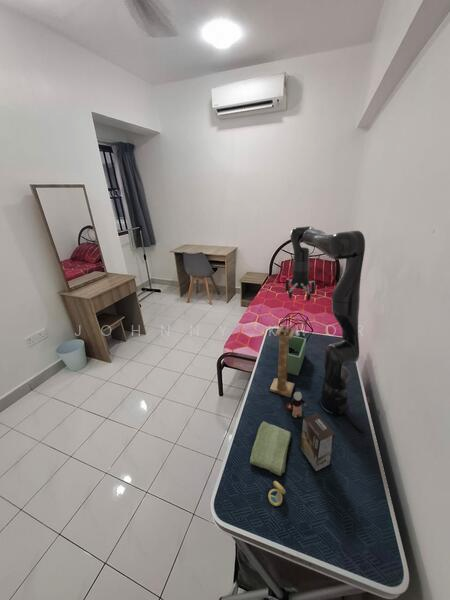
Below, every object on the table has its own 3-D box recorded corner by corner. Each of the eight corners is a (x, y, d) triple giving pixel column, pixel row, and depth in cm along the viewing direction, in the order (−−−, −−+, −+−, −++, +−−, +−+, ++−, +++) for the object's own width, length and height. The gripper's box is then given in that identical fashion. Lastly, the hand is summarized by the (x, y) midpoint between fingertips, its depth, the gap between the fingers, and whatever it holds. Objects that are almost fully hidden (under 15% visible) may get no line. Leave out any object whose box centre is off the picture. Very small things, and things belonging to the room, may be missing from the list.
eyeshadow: (265, 497, 77) (265, 489, 75) (274, 485, 80) (275, 476, 78) (277, 509, 74) (277, 501, 72) (286, 495, 77) (286, 487, 75)
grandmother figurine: (300, 408, 106) (303, 387, 101) (306, 415, 103) (308, 393, 97) (285, 413, 104) (287, 392, 99) (290, 421, 101) (292, 399, 95)
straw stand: (294, 385, 118) (299, 326, 103) (290, 397, 112) (295, 335, 97) (274, 379, 122) (276, 321, 107) (269, 390, 116) (271, 330, 101)
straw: (295, 353, 138) (296, 355, 138) (290, 368, 127) (292, 369, 127) (297, 353, 137) (298, 354, 137) (292, 367, 127) (293, 369, 127)
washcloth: (292, 434, 96) (292, 428, 94) (283, 479, 81) (283, 474, 80) (260, 423, 101) (260, 418, 99) (246, 464, 86) (246, 459, 85)
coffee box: (330, 464, 85) (336, 434, 78) (315, 471, 83) (320, 442, 76) (313, 441, 92) (317, 412, 86) (299, 447, 91) (302, 418, 84)
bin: (304, 355, 138) (306, 338, 133) (298, 375, 124) (299, 357, 119) (286, 351, 143) (287, 334, 137) (278, 370, 129) (278, 352, 124)
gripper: (284, 270, 118) (283, 300, 124) (314, 271, 111) (312, 303, 117) (288, 266, 124) (287, 295, 130) (317, 267, 117) (315, 298, 123)
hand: (299, 299), depth 123 cm, fingers open, 8 cm apart
